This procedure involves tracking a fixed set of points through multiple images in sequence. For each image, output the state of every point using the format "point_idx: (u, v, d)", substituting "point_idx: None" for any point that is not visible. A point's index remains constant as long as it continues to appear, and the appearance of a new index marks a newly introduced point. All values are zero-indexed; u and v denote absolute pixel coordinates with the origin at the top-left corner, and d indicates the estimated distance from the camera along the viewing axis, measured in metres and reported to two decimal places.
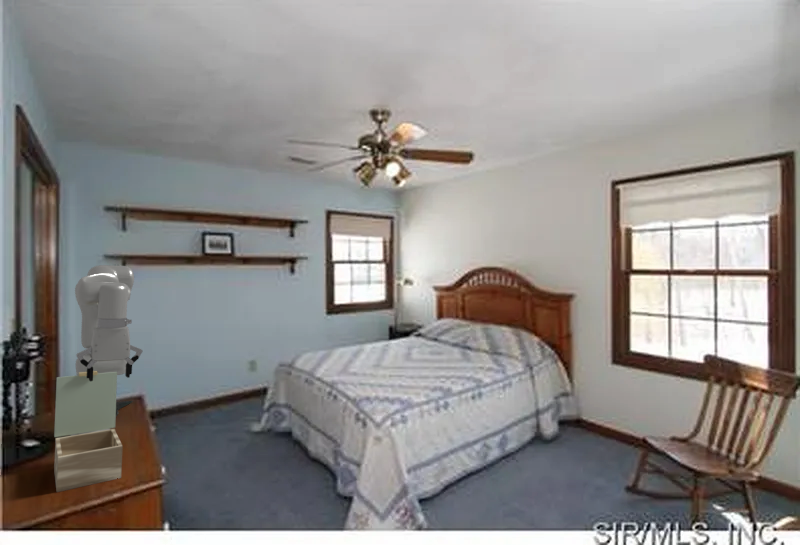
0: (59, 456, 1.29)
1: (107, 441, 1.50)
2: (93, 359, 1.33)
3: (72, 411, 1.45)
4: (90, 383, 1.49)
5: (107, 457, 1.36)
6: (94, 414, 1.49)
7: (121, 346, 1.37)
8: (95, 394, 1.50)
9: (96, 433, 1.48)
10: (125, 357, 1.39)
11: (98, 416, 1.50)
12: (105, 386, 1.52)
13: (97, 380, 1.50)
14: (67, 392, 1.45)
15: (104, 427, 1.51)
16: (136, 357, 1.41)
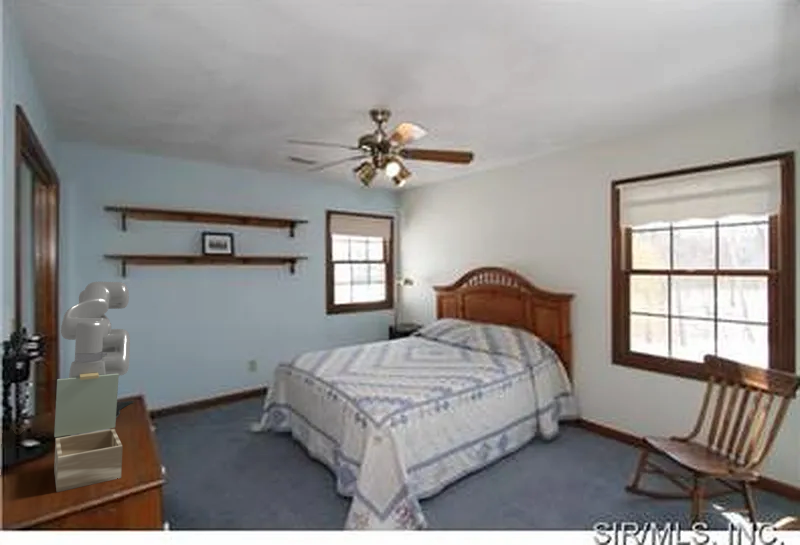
0: (59, 456, 1.29)
1: (107, 441, 1.50)
2: None
3: (72, 412, 1.44)
4: (91, 385, 1.47)
5: (107, 457, 1.36)
6: (94, 415, 1.48)
7: None
8: (95, 396, 1.48)
9: (96, 433, 1.48)
10: None
11: (98, 417, 1.49)
12: (106, 388, 1.49)
13: (98, 382, 1.48)
14: (68, 394, 1.43)
15: (104, 427, 1.51)
16: None
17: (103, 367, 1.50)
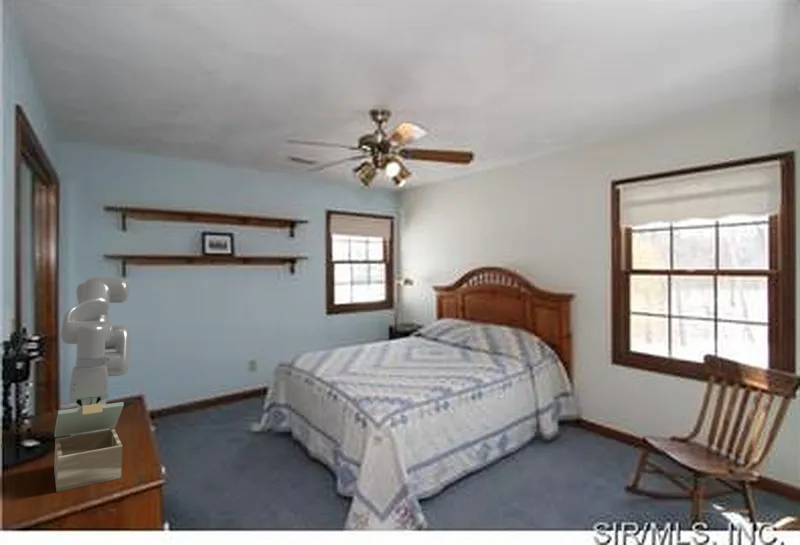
0: (59, 456, 1.29)
1: (107, 441, 1.50)
2: (72, 397, 1.40)
3: (73, 426, 1.40)
4: None
5: (107, 457, 1.36)
6: (95, 424, 1.46)
7: (99, 384, 1.44)
8: (98, 417, 1.41)
9: (96, 433, 1.48)
10: (103, 394, 1.45)
11: (99, 425, 1.47)
12: (109, 412, 1.42)
13: None
14: (69, 419, 1.36)
15: (104, 428, 1.50)
16: (98, 399, 1.45)
17: (105, 372, 1.45)
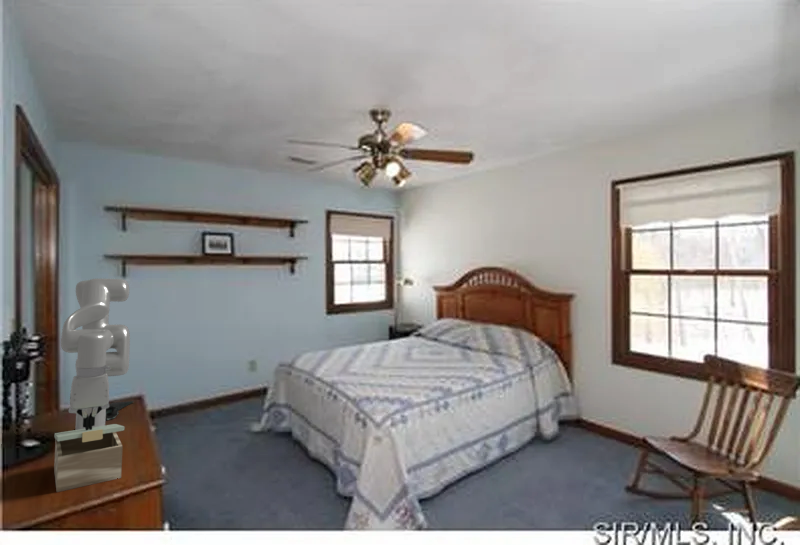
0: (59, 456, 1.29)
1: (107, 441, 1.50)
2: (72, 407, 1.37)
3: None
4: None
5: (107, 457, 1.36)
6: None
7: (100, 393, 1.41)
8: None
9: None
10: (104, 404, 1.43)
11: None
12: None
13: None
14: None
15: None
16: (99, 409, 1.43)
17: (106, 382, 1.43)
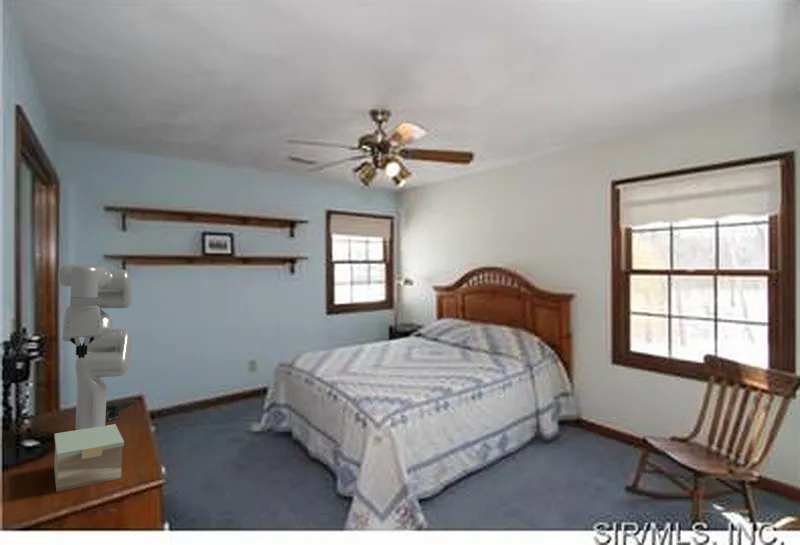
0: None
1: None
2: (65, 335, 1.44)
3: None
4: None
5: (107, 457, 1.36)
6: None
7: (92, 323, 1.48)
8: None
9: None
10: (96, 334, 1.49)
11: None
12: None
13: None
14: None
15: None
16: (91, 338, 1.49)
17: (98, 313, 1.49)
